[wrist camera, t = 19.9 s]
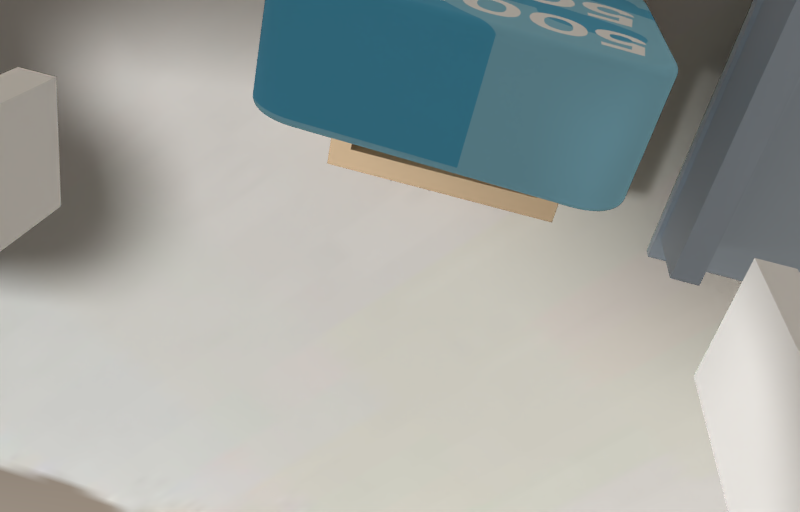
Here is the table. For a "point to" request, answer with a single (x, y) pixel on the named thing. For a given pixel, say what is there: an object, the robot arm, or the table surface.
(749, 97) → the lid
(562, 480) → the table surface
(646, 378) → the table surface
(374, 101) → the data package
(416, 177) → the light brown shallow tray
